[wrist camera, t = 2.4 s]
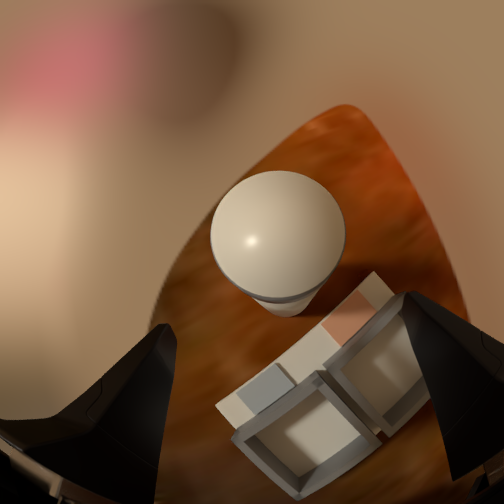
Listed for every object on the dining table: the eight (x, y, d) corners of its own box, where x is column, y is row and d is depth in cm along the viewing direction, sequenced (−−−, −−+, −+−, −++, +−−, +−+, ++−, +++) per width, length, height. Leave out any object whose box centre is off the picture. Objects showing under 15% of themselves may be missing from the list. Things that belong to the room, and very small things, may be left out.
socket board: (298, 482, 16) (298, 505, 12) (218, 402, 19) (205, 414, 15) (441, 359, 17) (463, 362, 13) (370, 273, 20) (384, 262, 16)
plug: (282, 329, 20) (269, 329, 7) (247, 288, 21) (184, 225, 8) (323, 292, 20) (373, 233, 7) (288, 253, 21) (281, 149, 9)
